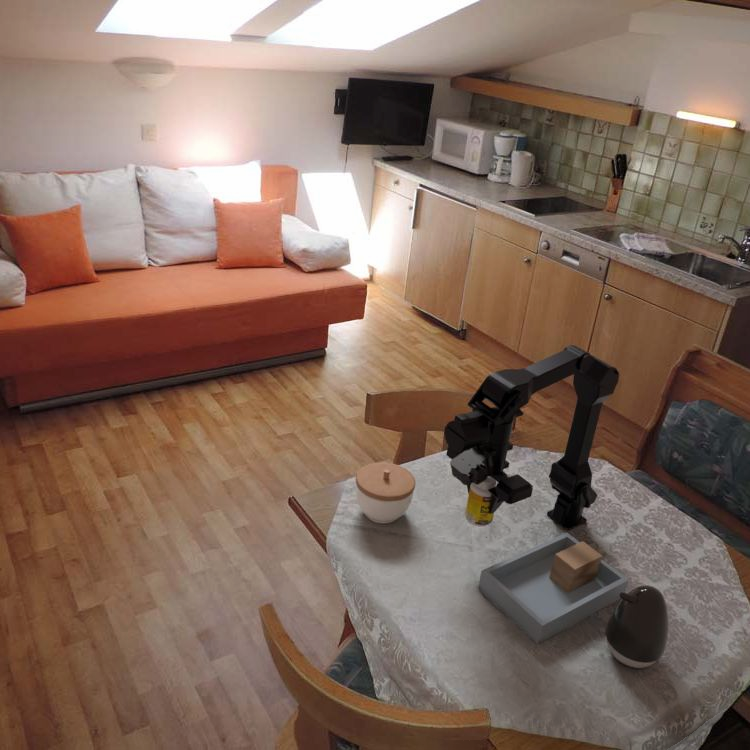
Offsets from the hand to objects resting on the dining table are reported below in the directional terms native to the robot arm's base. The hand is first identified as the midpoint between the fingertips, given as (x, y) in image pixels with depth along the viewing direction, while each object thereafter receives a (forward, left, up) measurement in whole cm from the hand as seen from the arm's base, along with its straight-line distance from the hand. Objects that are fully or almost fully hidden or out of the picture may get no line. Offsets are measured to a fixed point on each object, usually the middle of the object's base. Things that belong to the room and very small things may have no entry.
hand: (481, 504), depth 149 cm
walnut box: (-13, +16, -12) cm, 23 cm away
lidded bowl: (+8, -20, -13) cm, 25 cm away
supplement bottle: (0, 0, -4) cm, 4 cm away
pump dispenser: (-8, +34, -13) cm, 37 cm away
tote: (-7, +16, -13) cm, 22 cm away
